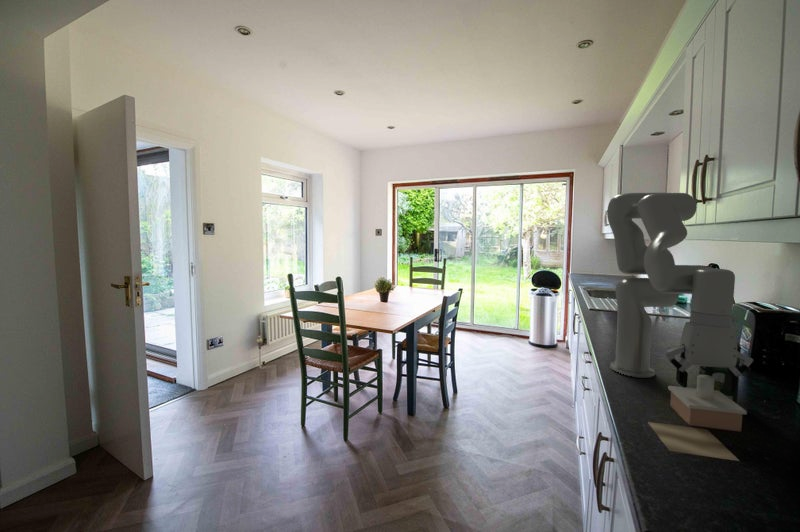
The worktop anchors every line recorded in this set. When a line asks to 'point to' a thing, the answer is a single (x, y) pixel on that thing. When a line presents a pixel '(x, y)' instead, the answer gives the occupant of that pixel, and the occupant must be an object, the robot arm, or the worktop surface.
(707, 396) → the lid
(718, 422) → the dish
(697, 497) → the worktop surface
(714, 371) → the coffee jar
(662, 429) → the mat
